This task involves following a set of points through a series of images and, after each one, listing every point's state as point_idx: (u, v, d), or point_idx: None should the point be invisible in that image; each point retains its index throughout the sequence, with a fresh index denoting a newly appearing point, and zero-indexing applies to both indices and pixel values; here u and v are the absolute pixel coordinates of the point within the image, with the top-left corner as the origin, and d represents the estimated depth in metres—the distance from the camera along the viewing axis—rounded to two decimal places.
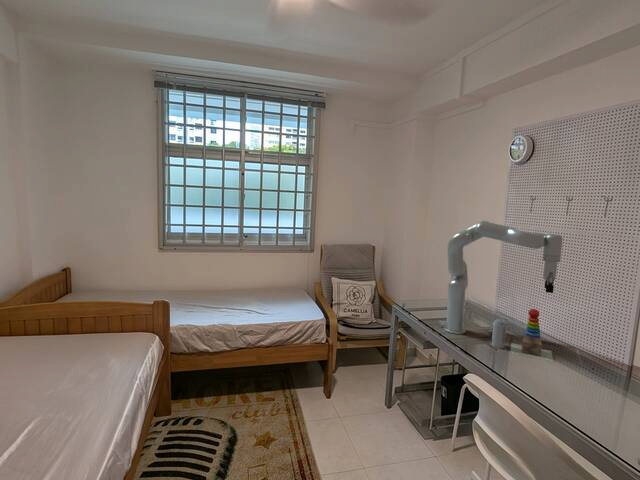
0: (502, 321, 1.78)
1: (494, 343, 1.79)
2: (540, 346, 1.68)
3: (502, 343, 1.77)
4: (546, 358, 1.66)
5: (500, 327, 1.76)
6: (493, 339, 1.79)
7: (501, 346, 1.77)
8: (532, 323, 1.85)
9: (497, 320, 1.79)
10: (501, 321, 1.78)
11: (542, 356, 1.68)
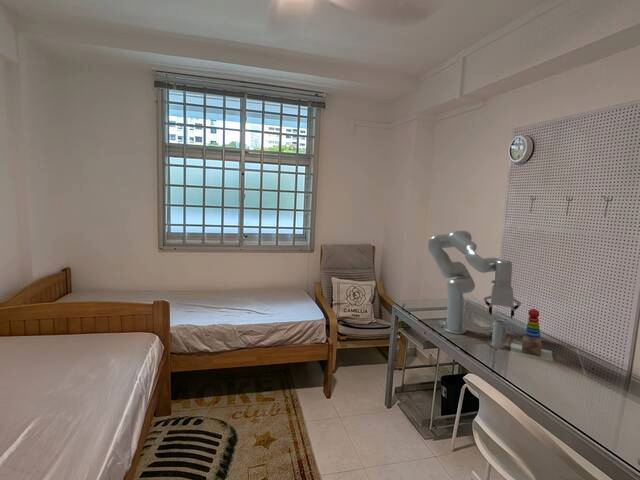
0: (502, 321, 1.78)
1: (494, 343, 1.79)
2: (540, 346, 1.68)
3: (502, 343, 1.77)
4: (546, 358, 1.66)
5: (500, 327, 1.76)
6: (493, 339, 1.79)
7: (501, 346, 1.77)
8: (532, 323, 1.85)
9: (497, 320, 1.79)
10: (501, 321, 1.78)
11: (542, 356, 1.68)
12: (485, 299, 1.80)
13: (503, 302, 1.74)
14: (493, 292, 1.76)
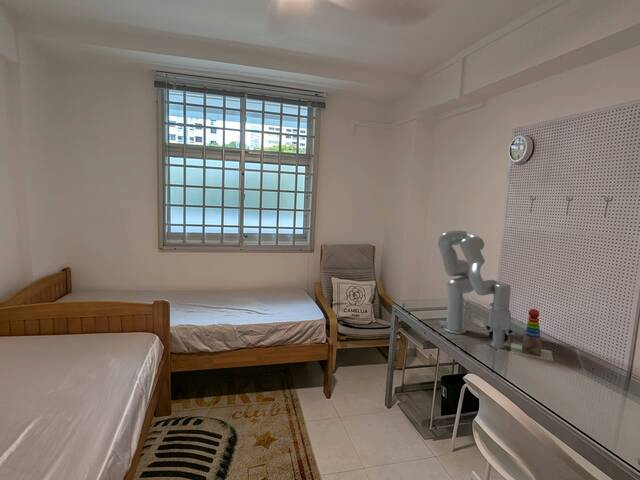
0: None
1: (494, 343, 1.79)
2: (540, 346, 1.68)
3: (502, 343, 1.77)
4: (546, 358, 1.66)
5: (500, 327, 1.76)
6: (493, 339, 1.79)
7: (501, 346, 1.77)
8: (532, 323, 1.85)
9: None
10: None
11: (542, 356, 1.68)
12: (485, 324, 1.82)
13: (501, 325, 1.76)
14: (491, 315, 1.78)
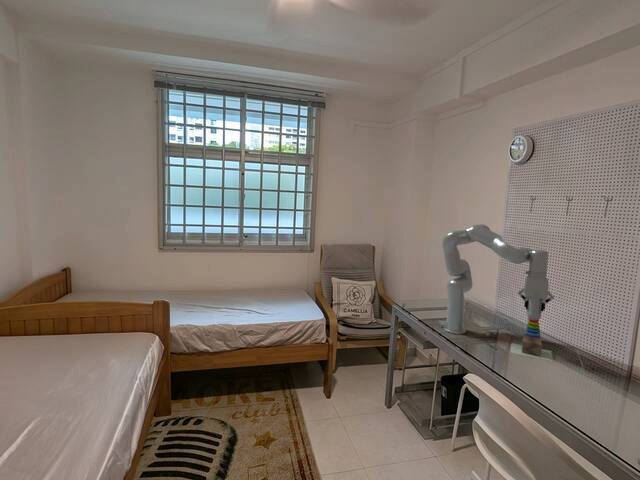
0: None
1: (530, 313, 1.70)
2: (540, 346, 1.68)
3: (539, 313, 1.68)
4: (546, 358, 1.66)
5: (536, 296, 1.67)
6: (529, 309, 1.70)
7: (538, 316, 1.68)
8: (532, 323, 1.85)
9: None
10: None
11: (542, 356, 1.68)
12: (520, 293, 1.73)
13: None
14: (527, 283, 1.69)
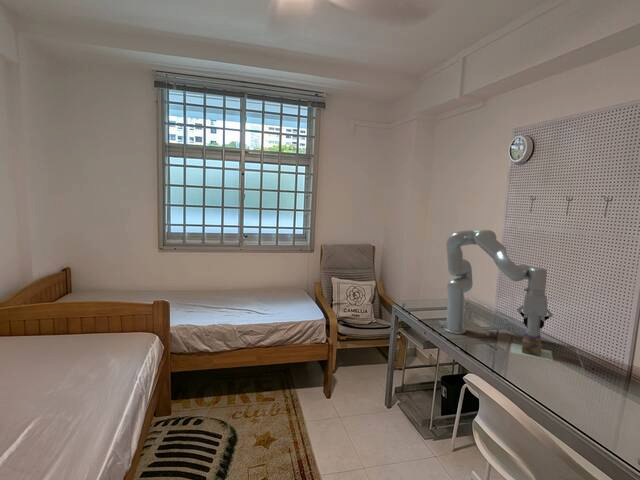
0: None
1: (529, 330, 1.71)
2: (540, 346, 1.68)
3: (538, 330, 1.69)
4: (546, 358, 1.66)
5: (535, 313, 1.68)
6: (528, 326, 1.71)
7: (537, 333, 1.69)
8: None
9: None
10: None
11: (542, 356, 1.68)
12: (519, 310, 1.74)
13: None
14: (526, 301, 1.70)
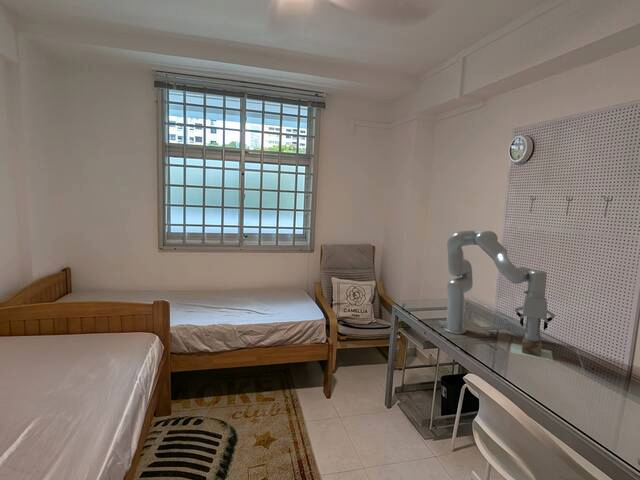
0: None
1: (528, 335, 1.71)
2: (540, 346, 1.68)
3: (537, 335, 1.70)
4: (546, 358, 1.66)
5: (535, 319, 1.69)
6: (527, 331, 1.72)
7: (536, 338, 1.70)
8: None
9: None
10: None
11: (542, 356, 1.68)
12: (516, 310, 1.74)
13: (536, 314, 1.68)
14: (526, 303, 1.70)
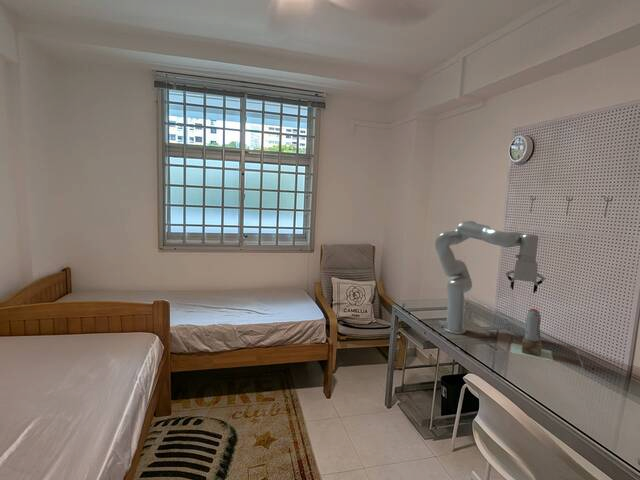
0: (537, 312, 1.70)
1: (528, 335, 1.71)
2: (540, 346, 1.68)
3: (537, 335, 1.70)
4: (546, 358, 1.66)
5: (534, 319, 1.69)
6: (527, 331, 1.72)
7: (536, 338, 1.70)
8: None
9: (531, 311, 1.72)
10: (535, 312, 1.70)
11: (542, 356, 1.68)
12: (507, 274, 1.77)
13: (526, 277, 1.71)
14: (517, 266, 1.73)
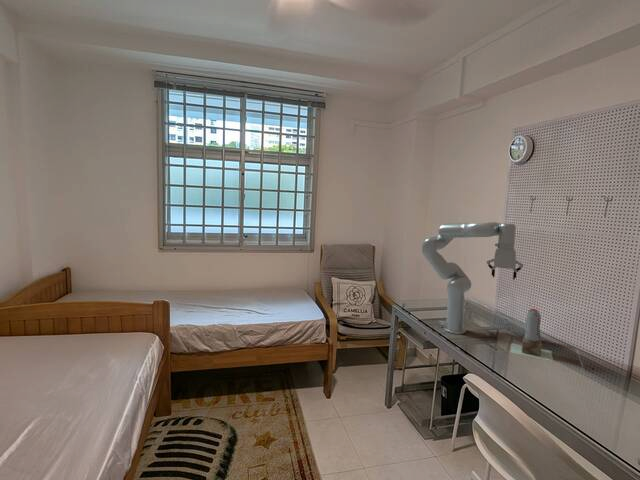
0: (537, 312, 1.70)
1: (528, 335, 1.71)
2: (540, 346, 1.68)
3: (537, 335, 1.70)
4: (546, 358, 1.66)
5: (534, 319, 1.69)
6: (527, 331, 1.72)
7: (536, 338, 1.70)
8: None
9: (531, 311, 1.72)
10: (535, 312, 1.70)
11: (542, 356, 1.68)
12: (488, 262, 1.85)
13: (506, 264, 1.79)
14: (496, 255, 1.81)
